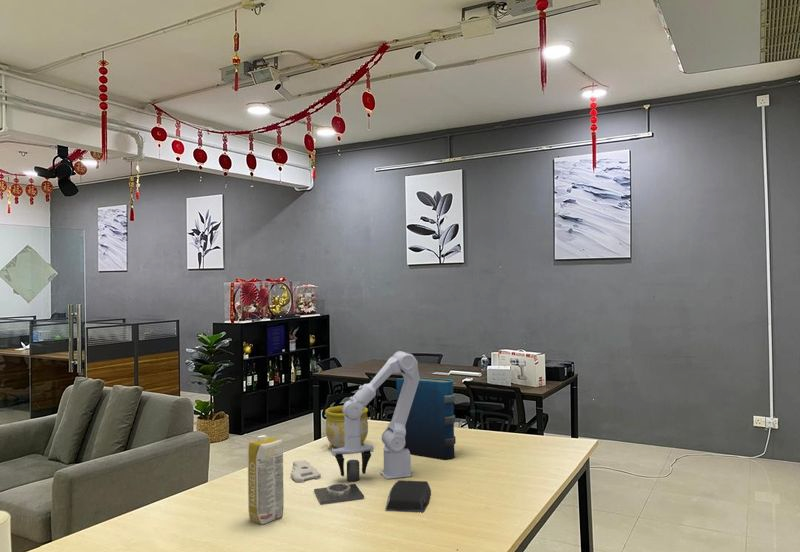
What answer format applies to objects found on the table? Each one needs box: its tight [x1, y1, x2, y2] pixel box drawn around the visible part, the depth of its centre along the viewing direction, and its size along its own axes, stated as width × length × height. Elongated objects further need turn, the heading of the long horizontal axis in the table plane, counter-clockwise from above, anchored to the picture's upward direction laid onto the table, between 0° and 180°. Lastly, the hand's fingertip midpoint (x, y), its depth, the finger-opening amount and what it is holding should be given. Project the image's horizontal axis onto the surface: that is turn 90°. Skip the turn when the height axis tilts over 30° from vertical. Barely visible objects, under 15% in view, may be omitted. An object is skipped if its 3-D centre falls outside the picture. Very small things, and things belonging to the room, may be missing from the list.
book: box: [395, 376, 457, 461], centre depth 233 cm, size 24×9×30 cm, turn 58°
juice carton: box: [247, 434, 285, 525], centre depth 170 cm, size 9×8×24 cm
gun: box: [290, 459, 322, 483], centre depth 209 cm, size 18×4×10 cm
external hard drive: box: [384, 479, 432, 514], centre depth 182 cm, size 13×19×4 cm
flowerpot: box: [324, 405, 369, 450], centre depth 242 cm, size 18×18×16 cm
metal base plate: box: [313, 483, 365, 505], centre depth 187 cm, size 14×12×2 cm
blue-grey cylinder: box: [346, 459, 361, 483], centre depth 202 cm, size 4×4×7 cm
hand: (353, 474), depth 202 cm, fingers open, 7 cm apart
